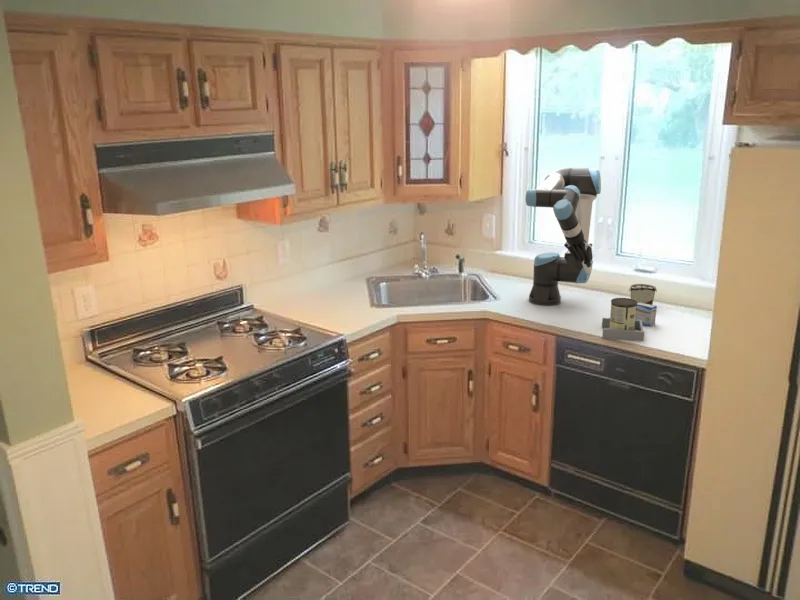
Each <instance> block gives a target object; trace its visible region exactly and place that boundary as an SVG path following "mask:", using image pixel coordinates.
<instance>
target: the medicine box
mask: <svg viewBox="0 0 800 600" xmlns="http://www.w3.org/2000/svg"><path fill="white" fill-rule="evenodd" d="M656 316H657V305H654V304H652V305H650V304H646V303H641V302H639V303H637V306H636V318H635V320H642V324H643V326H646V327H652V326H654V325H655V324H656Z"/></svg>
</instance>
